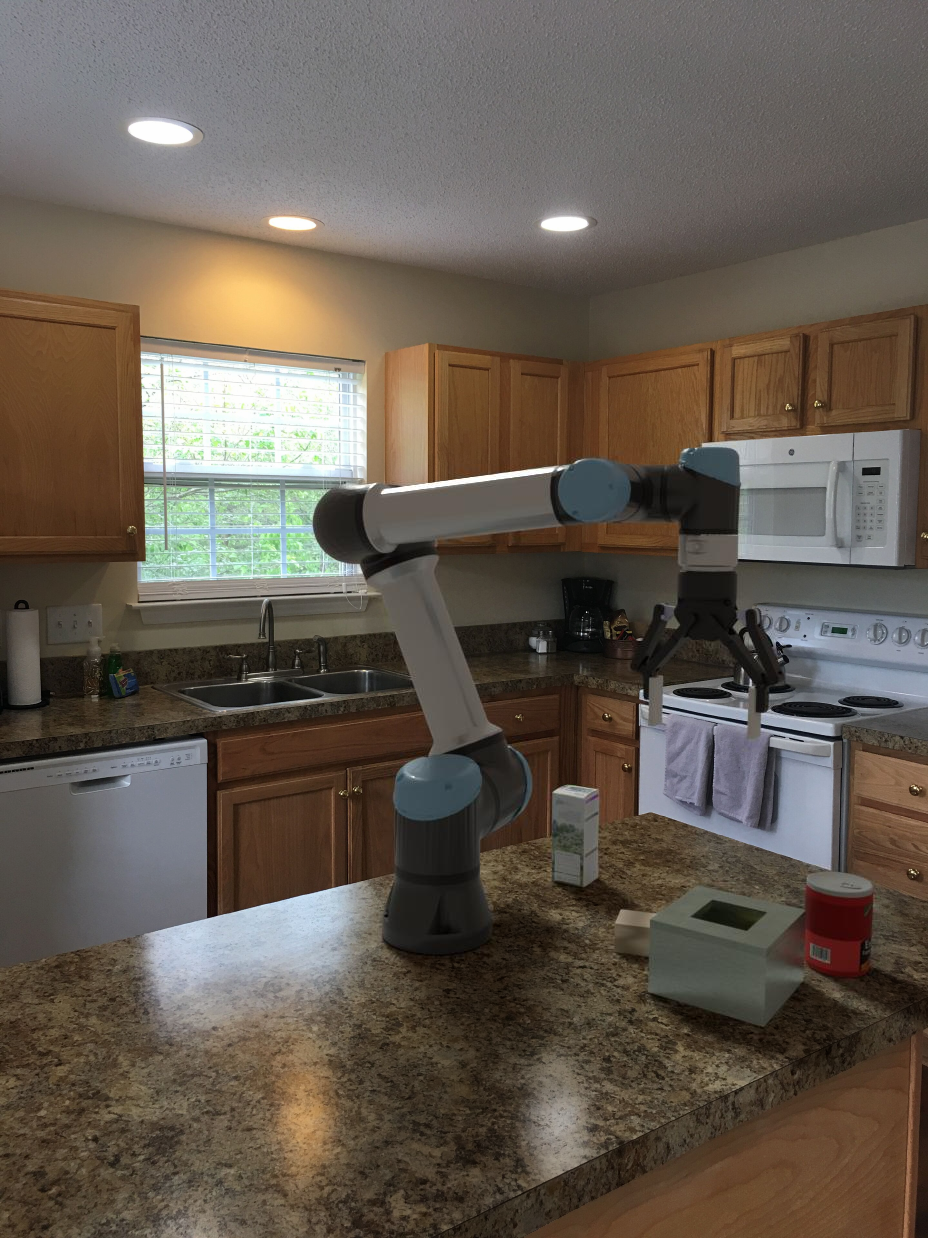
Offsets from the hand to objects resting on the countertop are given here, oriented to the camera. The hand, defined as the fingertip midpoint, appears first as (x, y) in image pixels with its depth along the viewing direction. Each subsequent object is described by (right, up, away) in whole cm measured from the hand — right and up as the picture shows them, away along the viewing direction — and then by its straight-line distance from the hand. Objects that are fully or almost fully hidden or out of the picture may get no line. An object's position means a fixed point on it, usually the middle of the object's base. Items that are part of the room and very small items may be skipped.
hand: (703, 731), depth 131 cm
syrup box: (-14, -27, +26) cm, 40 cm away
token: (-8, -29, +1) cm, 30 cm away
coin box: (+1, -30, -10) cm, 31 cm away
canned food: (+16, -30, -4) cm, 34 cm away
